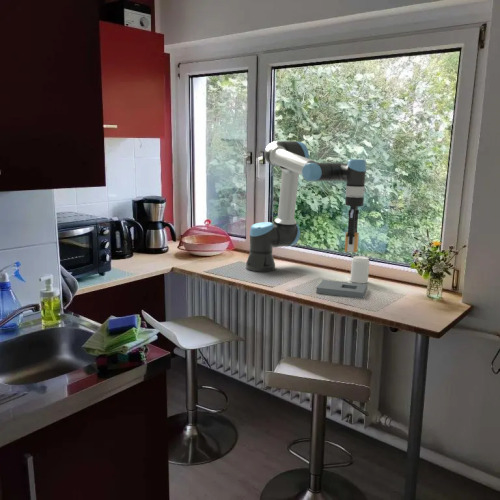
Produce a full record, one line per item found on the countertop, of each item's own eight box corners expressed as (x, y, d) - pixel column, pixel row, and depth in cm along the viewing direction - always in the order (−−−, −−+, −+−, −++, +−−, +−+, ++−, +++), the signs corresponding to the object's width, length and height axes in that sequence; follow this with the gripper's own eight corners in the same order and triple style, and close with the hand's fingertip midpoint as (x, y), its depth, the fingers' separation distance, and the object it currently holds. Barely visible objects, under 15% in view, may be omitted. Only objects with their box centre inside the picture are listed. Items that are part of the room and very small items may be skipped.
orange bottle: (344, 251, 214) (346, 228, 212) (346, 249, 218) (347, 227, 216) (356, 252, 213) (357, 229, 211) (357, 250, 217) (359, 228, 215)
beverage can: (355, 284, 231) (356, 259, 229) (347, 280, 239) (348, 255, 237) (370, 284, 234) (372, 259, 231) (362, 279, 241) (364, 255, 239)
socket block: (316, 292, 217) (316, 287, 217) (322, 284, 230) (322, 279, 229) (362, 298, 211) (363, 292, 210) (366, 289, 224) (367, 284, 223)
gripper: (361, 198, 202) (357, 255, 206) (366, 195, 217) (362, 247, 222) (342, 197, 204) (339, 253, 209) (348, 194, 220) (345, 246, 225)
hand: (351, 250), depth 215 cm, fingers closed on orange bottle, 4 cm apart
